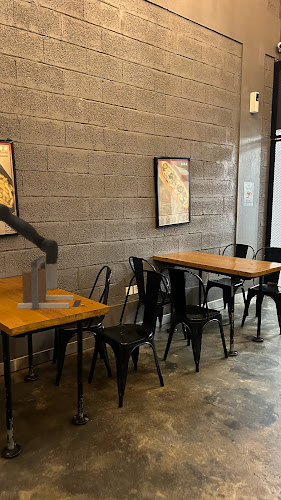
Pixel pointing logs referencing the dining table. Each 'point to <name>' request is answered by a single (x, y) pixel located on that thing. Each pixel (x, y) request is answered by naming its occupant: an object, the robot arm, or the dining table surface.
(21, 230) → the robot arm
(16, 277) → the dining table surface
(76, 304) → the pad
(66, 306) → the walled lane
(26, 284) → the wooden block
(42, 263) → the arch
